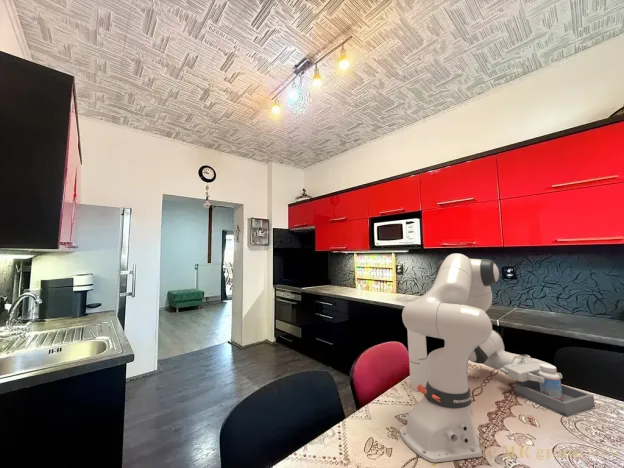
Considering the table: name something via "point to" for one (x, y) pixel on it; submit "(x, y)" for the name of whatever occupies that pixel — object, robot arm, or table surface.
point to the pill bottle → (550, 382)
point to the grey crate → (568, 406)
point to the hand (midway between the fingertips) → (553, 378)
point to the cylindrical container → (417, 359)
